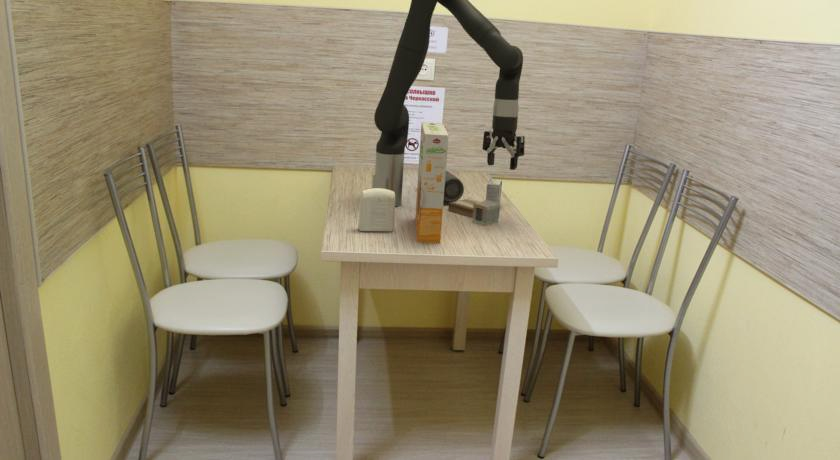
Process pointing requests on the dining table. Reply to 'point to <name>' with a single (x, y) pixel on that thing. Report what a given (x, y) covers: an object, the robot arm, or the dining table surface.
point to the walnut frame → (463, 207)
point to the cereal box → (431, 181)
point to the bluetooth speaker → (452, 188)
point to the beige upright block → (377, 210)
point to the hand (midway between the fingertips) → (501, 167)
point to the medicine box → (494, 190)
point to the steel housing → (486, 212)
